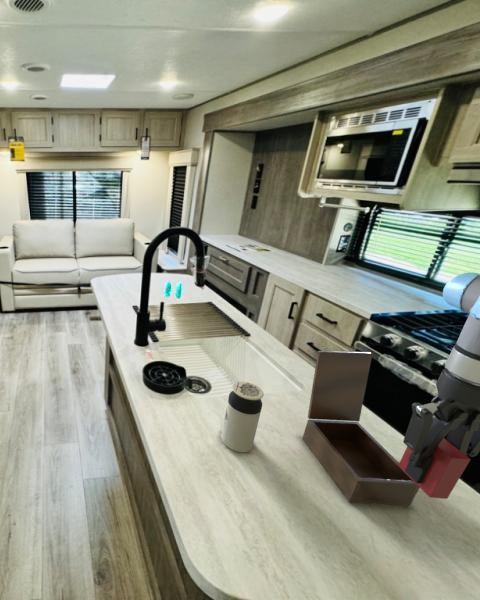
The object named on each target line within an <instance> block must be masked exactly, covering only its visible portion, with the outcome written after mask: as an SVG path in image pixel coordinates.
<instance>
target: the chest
mask: <svg viewBox="0 0 480 600" xmlns="http://www.w3.org/2000/svg"><path fill="white" fill-rule="evenodd" d="M302 441H303V442H304V443H305V445H306V446H307V447H308V449H309V450H310V451H311V453H312V454H313V456H314V457H315V458H316V459H317V461H318V463H319V464H320V465H321V466H322V468H323V470H324V471H325V472H326V473H327V474H328V476H329V477H330V479H331V480H332V482H333V483H334V484H335V485H336V487H337V489H339V491H340V492H341V494H342V495H343V496H344V498H345V499H346V500H347V502H348V503H356V504H370V505H381V506H382V505H383V506H398V507H399V506H400V507H411V504H412V503H413V501H414V499H415V498H416V495H417V493H418V492H419V490H420V489H421V488H420V487H419V486H418V485H417V484H416V483H415V482H414V481H413V480H412V479H411V478H410V477H409V476H408V475H407V474H406V473H405V472H404V471H403V470H402V469H401V468H400V467H399V466H398V465H399V463H400V461H398V460H397V459H396V458H394V456H393V455H392V454H391V453H390V452H389V451H388V450H387V449H386V448H384V446H383V445H381V443H380V442H379V441H378V440H377V439H376V438H375V437H373V436H372V435H371V434H370V432H369V431H368V430H367V429H366V428H364V426H363V425H361V424H360V423H359V421H342V420H321V419H307V422H306V425H305V427H304V431H303V434H302Z"/></svg>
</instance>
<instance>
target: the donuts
mask: <svg viewBox="0 0 480 600" xmlns="http://www.w3.org/2000/svg"><path fill="white" fill-rule="evenodd" d="M183 288H184V284H183V283H182V282H178V283H177V284H176V287H175V293H174V294H175V297H176V299H181V298H182V296H183ZM172 289H173V285H172V282H171V281H169V280H168V281H166V282H165V285H164V291H163V292H164V297H165V298H169V297H171V295H172V291H173V290H172Z"/></svg>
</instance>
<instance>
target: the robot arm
mask: <svg viewBox="0 0 480 600" xmlns="http://www.w3.org/2000/svg"><path fill="white" fill-rule="evenodd" d="M442 299H443V300H444V302H445V303H446V304H447V305H449V306H451V307H453V308H455V309H457V310H460V311H461V312H463V313H465V314H468V316H467V319H466V321H465V322H464V325H463V327H462V329H461V331H460V334H459V336H458V339H457V341H456V342H455V344H454V345H453V348H452V350H451V352H450V353H449V356H448V357H447V360H446V362H445V363H444V367H445V368H443V369H442V371H441V373H440V375H439V377H438V379H437V381H436V383H435V386H436V389H437V394H436V396H434V397H433V398H432V399H431V401H430V402H429V403H425V404H422V403H420V402H417V401H416V402H414V403H412V404H411V409H412V415H411V418H410V420H409V423H408V427H407V428H406V432H405V434H404V438H403V440H402V442H403V444H404V445H405V446H408V447H409V448H410V449H411V450H412V453H411V455H410V457H409V459H408V461H409V463H408V465H407V467H406V469H405V472H406V473H407V474H408V475H409V476H410V477H411V478H412V479H413V480H414V481H415V482H416V483H422V481H423V479H424V477H425V475H426V473H427V471H428V470H429V468H430V466H431V464H432V462H433V460H434V458H433V457H432V456H431V454H432V453H433V452H434V450H435V449H436V448H437V446H438V445H439V444H440V442H441V441H442V440H443V439H446V440H447V441H448V442H449V443H451V444H452V445H453V446H454V447H456V448H457V449H458V450H460V451H461V452H462V453H463V454H465V455H466V456H468V457H471V458H475V457H476V456H478V454H479V453H480V273H477V272H463V273H461V274H460V273H459V274H458V275H456V276H454V277H452V278H451V279H450V280H449V281H448V282H447V283H446V284H445V285H444V288H443V290H442ZM445 437H446V438H445Z"/></svg>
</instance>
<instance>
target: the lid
mask: <svg viewBox="0 0 480 600" xmlns="http://www.w3.org/2000/svg"><path fill="white" fill-rule="evenodd" d="M316 355H317V356H316V361H315V368H314V374H313V380H312V388H311V393H310V399H309V400H310V401H309V406H308V412H307V418H308V420H327V421H349V422H360V419H361V415H362V410H363V403H364V398H365V394H366V390H367V389H366V388H367V384H368V378H369V372H370V369H371V368H370V367H371V363H372V357H373V352H370V351H340V350H339V351H338V350H337V351H335V350H332V351H331V350H317V354H316Z"/></svg>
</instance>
